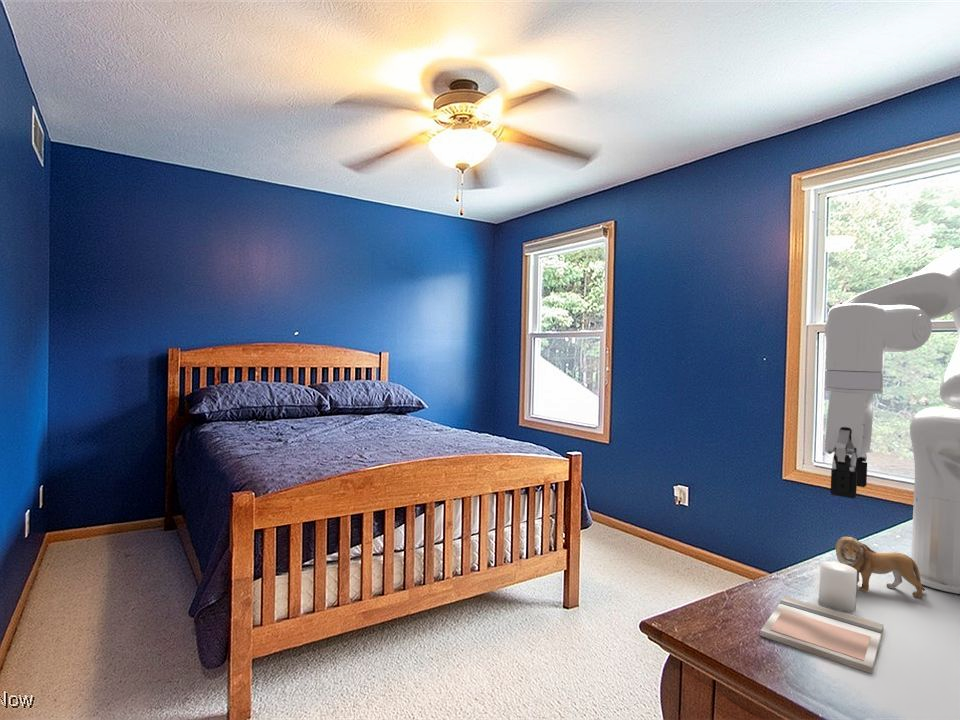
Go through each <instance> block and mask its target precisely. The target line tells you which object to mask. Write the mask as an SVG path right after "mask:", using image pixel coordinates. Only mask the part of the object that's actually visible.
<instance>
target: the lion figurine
mask: <svg viewBox="0 0 960 720" xmlns="http://www.w3.org/2000/svg"><path fill="white" fill-rule="evenodd" d="M834 549H835V555H836V559H837V560H838V561H839V562H838V563H842V564H845V565H848V566H851V567H853V568H854V569H856V570H857V583H856V586H857V585H858V584H859V582H860V575H861V582H862V583H861V586H859V588H858V589H859V592H864V593H868V592H869V590H870V584H869V583H870V578H871V576H872V574H876V575H886V574H889V573H892V574H893V577H894V581H893V582H892V583H887V584H886V587H887V588H890V589H897V587H899V585H901V584H902V583H903V579H904V580H905V581H906V582H908V583H909V584H910V585H912V586H913V587H914V588H915V589H916V591H913V592H912V596H914V598H918V599H920V598H923V591H924V592H925V591H926V588H924V587H923V585H922V584H921V580H920V574H919V570H918V567H917V565H916V563H915V562H914V561H913V560H912V559H911V556H908V555H906V554H904V553H901V552H876V551H875V550H873V549H872V548H870V547H869V546H868V545H867V544H865V543H863V542H861V541H859V540H858V539H856V538H855V537H852V536H842V537H840V538H839V539H838V540H837V541H836V544H835V546H834ZM914 573H915V574H914ZM915 576H916V577H915Z"/></svg>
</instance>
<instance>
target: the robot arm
mask: <svg viewBox="0 0 960 720" xmlns="http://www.w3.org/2000/svg"><path fill="white" fill-rule="evenodd" d="M950 314H951V316H952V319H953V321H954V325H955V328H956V332H957V336H958V337H957V339H958V340H957V344H956V346H955V348H954V351H953V354H952V356H951V358H950V361H949V362H948V365H947V367H946V369H945V372H944V374H943V377H942V379H941V381H940V385H939V395H940V399H941V400H942V401H943V402H944V403H945V404H946V405H947V406H933V407H927V408H924V409H922V410H919V411H918V412H916V414H915V415H913V417H912V419H911V421H910V426H909V433H910V434H909V435H910V440H911V442H910V443H911V447H912V452H913V462H914V487H913V488H914V489H913V491H914V492H913V510H912V530H911V553H910V554H911V555H910V558H911V559H912V560H913V561H914V562H915V563H916V565H917V567H918V570H919V574H920V580H921V585H922V586H926V587H928V588H931V589H936V590H939V591H943V592H947V593H952V594H958V595H960V247H958V248H955V249H952V250H950V251H948V252H945V253H944V254H942V255H941V256H939V257H938V258H936V259H935V260H933V261H932V262H930V263H929V264H928V265H926V266H925V267H923V268H922V269H920V270H918V271H917V272H916V273H914V274H913V275H910V276H908V277H903V278H900V279H898V280H895V281H892V282H889V283H887V284H884V285H880V286H878V287H875V288H872V289H870V290H866V291H864V292H861V293H859V294H857V295H854V296H852V297H851V298H849V299H848V300H846V301H844V302H843V303H841V304H838V305H837V304H836V305H834V306H832V307H831V308H830V309H829V311H828V313H827V317H826V318H827V320H826V323H825V326H824V336H825V338H826V344H825V345H826V347H825V371H824V372H825V374H824V376H825V377H824V391H827V392H830V395H829V401H828V407H827V408H828V409H827V417H826V427H825V429H826V430H825V440H824V441H825V442H824V451H825V453H827V454H828V455H831V454H833V459H832V464H831V468H830V469H831V472H830V477H831V478H830V494H831V495H832V496H836V497H842V498H847V499H855V498H856V497H857V491H858V490H857V487H860V488H861V487H862V488H865V487H866V486H867V484H868V483H867V482H868V481H867V480H868V479H867V478H868V462H867V459H868V458H867V457H868V456H867V453H868V452H869V451H870V448H871V443H872V432H873V416H874V415H873V413H874V395H876V394H877V395H878V394H881V395H882V394H883V388H884V367H885V366H884V362H885V352H891V353H896V352H897V353H902V352H903V353H904V352H910V351H911V352H912V351H914V350H917V349H919V348H921V347H922V346H923V345H925V344H926V343H927V342H928V341H929V339H930V337H931V334H932V331H933V325H932V321H931V320H934V319H939V318H942V317H945V316H947V315H950ZM914 574H915V573H914ZM915 577H916V576H915Z"/></svg>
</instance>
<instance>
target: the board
mask: <svg viewBox="0 0 960 720" xmlns="http://www.w3.org/2000/svg"><path fill="white" fill-rule="evenodd" d="M884 626H885V625H884V623H880V622H876V621H874V620H869V619H866V618H863V617H859V616H856V615H853V614H849V613H845V612H844V611H839V610H835V609H832V608H829V607H826V606H821V605H818V604H815V603H810V602H808V601H804V600H801V599H797V598H793V597H790V596H786V595H784V597H783V598H782V599H781V600H780V602H779V604H778V605H777V607H776V608H775V609H774V611H773V612H772V613H771V615H770V616H769V618H767V620H766V622H765V623H764V624H763V626H762V628H761V629H760V630H759V631H760V633H759V634H760V636H761V637H763V638H766V639H769V640H772V641H775V642H778V643H780V644H784V645H786V646H790V647H793V648H795V649H799V650H802V651H805V652H807V653H810V654H813V655H817V656H819V657H822V658H825V659H828V660H831V661H834V662H836V663H840V664H842V665H846V666H848V667H851V668H854V669H857V670H861V671H863V672H866V673H869V674H873V671H874V667H875V663H876V660H877V655H878V652H879V648H880V644H881V640H882V636H883V633H884Z"/></svg>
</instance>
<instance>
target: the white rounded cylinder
mask: <svg viewBox="0 0 960 720" xmlns="http://www.w3.org/2000/svg"><path fill="white" fill-rule="evenodd" d="M856 583H857V570H856V569H854V568H853V567H851V566H848V565H845V564H842V563H840V562H836V561H827V560H826V561H821V562H820V563H819V583H818V603H820V604H821V605H823V606H824V607H826V608H829V609H832V610H836V611H839V612H853V611H855V610H856V604H857V603H856V601H857V599H856V598H857V585H856Z"/></svg>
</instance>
